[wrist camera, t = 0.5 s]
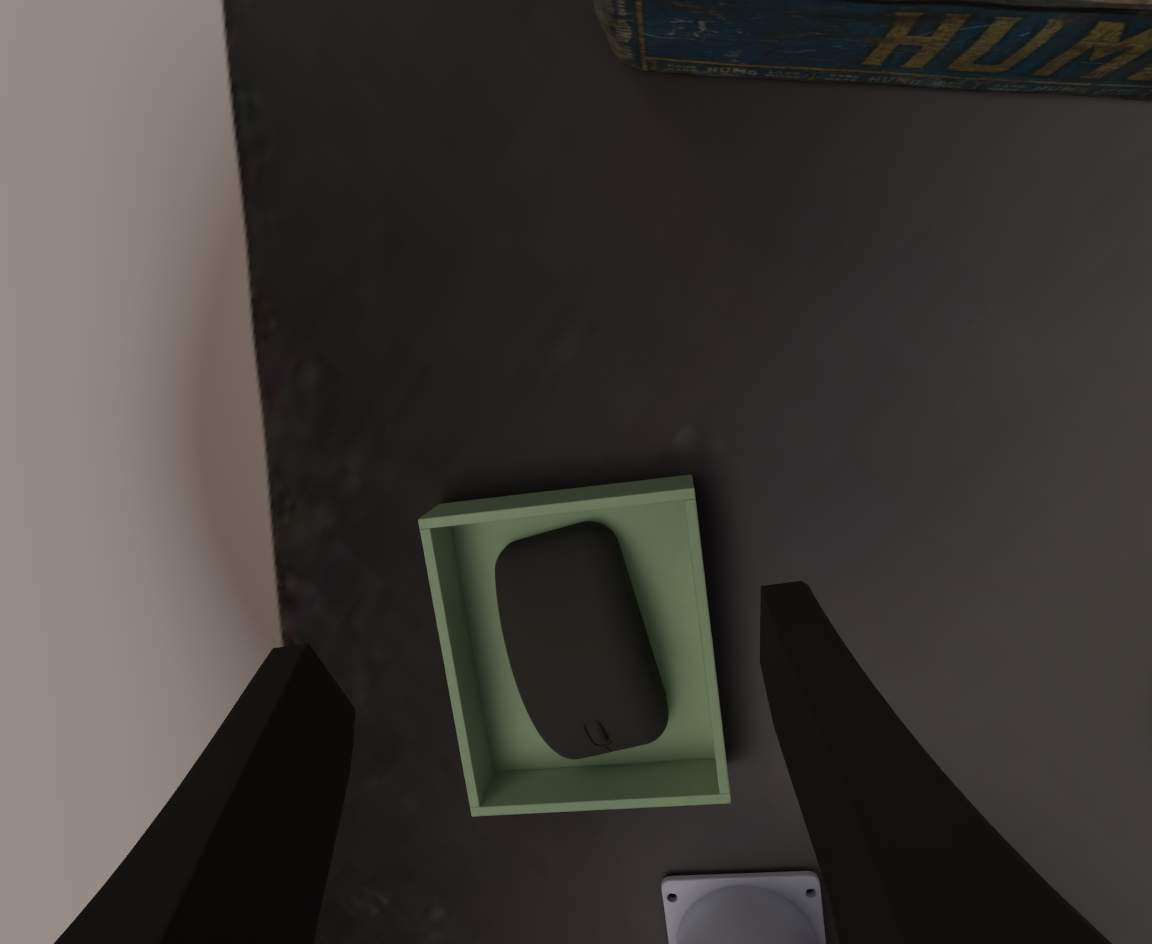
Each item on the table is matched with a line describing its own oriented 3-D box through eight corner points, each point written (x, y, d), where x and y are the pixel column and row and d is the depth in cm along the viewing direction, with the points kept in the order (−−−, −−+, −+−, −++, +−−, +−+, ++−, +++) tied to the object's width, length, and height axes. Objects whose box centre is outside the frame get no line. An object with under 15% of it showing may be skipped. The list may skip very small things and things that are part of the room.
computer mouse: (557, 751, 37) (545, 798, 33) (489, 547, 36) (467, 573, 32) (676, 724, 36) (677, 770, 32) (610, 514, 35) (603, 535, 31)
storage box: (725, 764, 37) (731, 803, 33) (487, 778, 38) (471, 816, 35) (691, 474, 34) (694, 487, 31) (439, 503, 36) (417, 519, 33)
